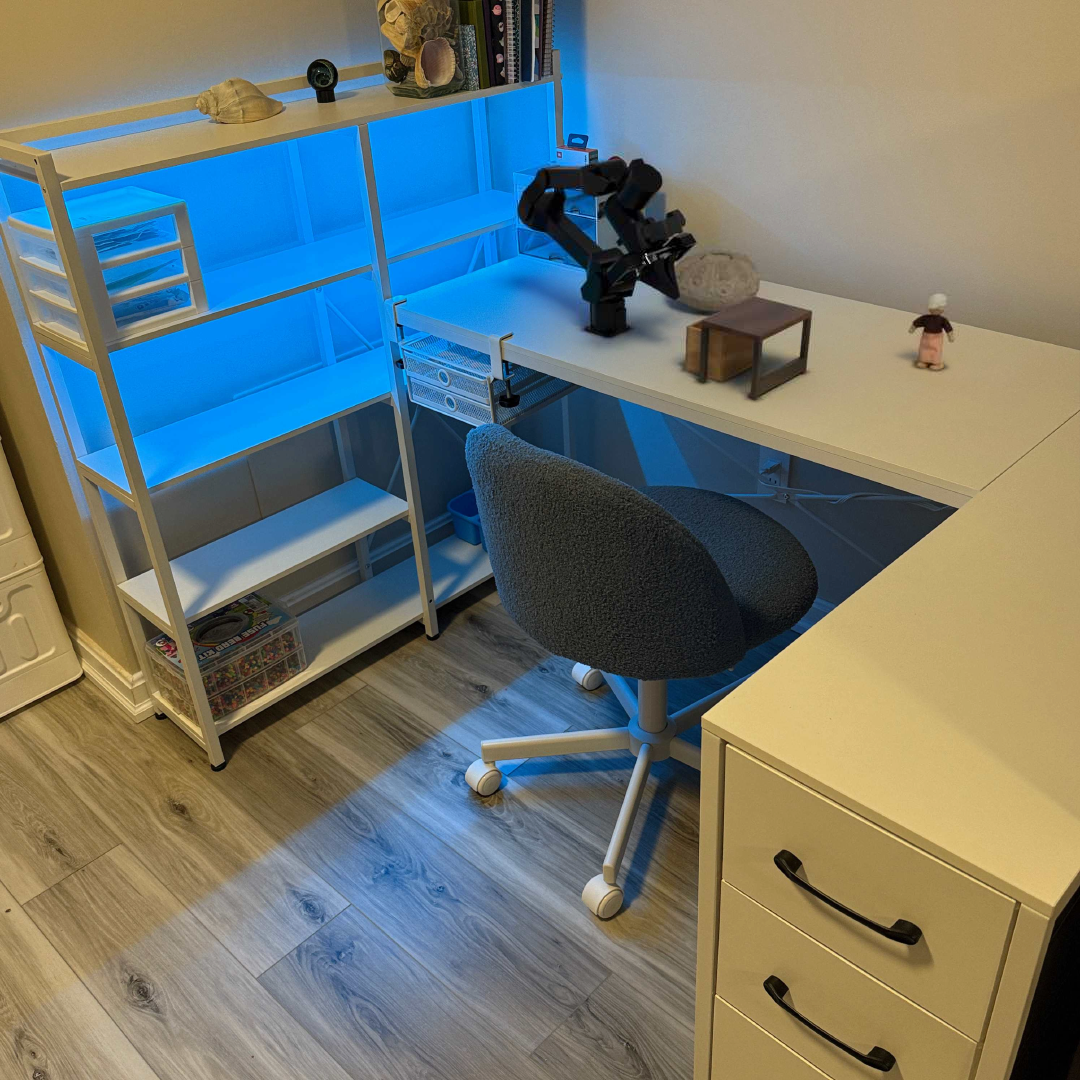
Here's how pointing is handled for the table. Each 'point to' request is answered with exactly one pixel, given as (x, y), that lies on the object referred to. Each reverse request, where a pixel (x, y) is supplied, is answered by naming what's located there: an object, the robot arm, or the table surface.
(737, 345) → the wooden box
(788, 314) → the desk shelf
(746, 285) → the grey rounded stone
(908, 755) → the table surface
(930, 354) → the grandmother figurine
